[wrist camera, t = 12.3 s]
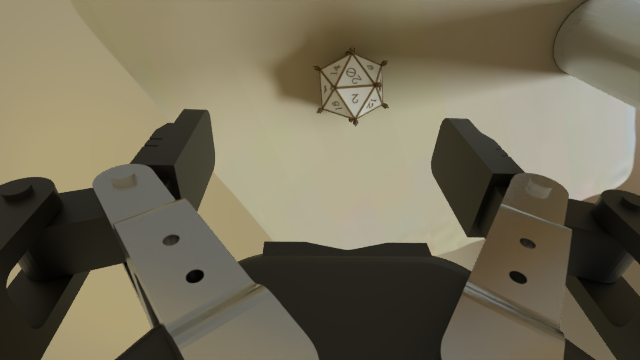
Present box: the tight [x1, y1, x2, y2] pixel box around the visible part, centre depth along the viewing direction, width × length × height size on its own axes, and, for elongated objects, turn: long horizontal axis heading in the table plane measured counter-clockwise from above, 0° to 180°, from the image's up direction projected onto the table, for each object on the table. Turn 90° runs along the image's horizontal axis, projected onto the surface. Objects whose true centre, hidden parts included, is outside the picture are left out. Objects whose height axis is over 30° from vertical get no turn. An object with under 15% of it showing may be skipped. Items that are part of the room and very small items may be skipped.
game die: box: [313, 46, 389, 126], centre depth 40 cm, size 9×8×10 cm
